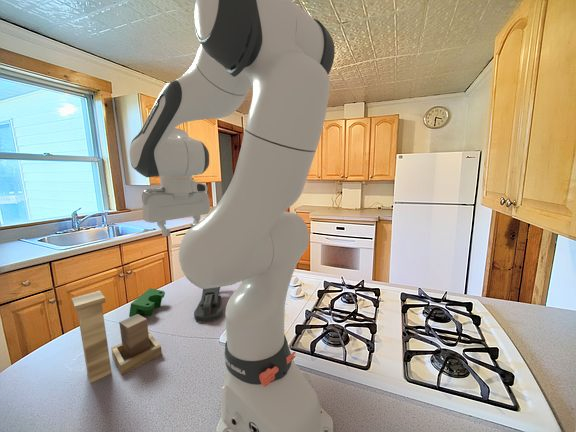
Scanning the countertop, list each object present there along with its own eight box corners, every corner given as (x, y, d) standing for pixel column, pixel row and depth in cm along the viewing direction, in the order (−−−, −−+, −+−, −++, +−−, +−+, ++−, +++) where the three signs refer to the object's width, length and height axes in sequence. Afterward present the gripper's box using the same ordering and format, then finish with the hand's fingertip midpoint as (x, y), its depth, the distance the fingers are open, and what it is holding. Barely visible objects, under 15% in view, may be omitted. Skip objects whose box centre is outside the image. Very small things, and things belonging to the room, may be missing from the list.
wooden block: (150, 353, 65) (146, 318, 64) (132, 364, 62) (127, 327, 60) (141, 347, 68) (137, 313, 66) (123, 357, 64) (119, 322, 62)
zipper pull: (225, 272, 103) (220, 301, 79) (226, 287, 104) (221, 320, 80) (202, 274, 102) (190, 304, 77) (203, 289, 103) (192, 324, 79)
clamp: (148, 328, 84) (146, 312, 79) (131, 324, 84) (127, 307, 79) (166, 299, 94) (165, 283, 89) (151, 296, 94) (149, 279, 89)
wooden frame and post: (161, 354, 65) (154, 285, 62) (89, 391, 54) (76, 309, 51) (149, 339, 71) (142, 276, 68) (82, 369, 60) (70, 295, 57)
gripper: (147, 188, 64) (152, 241, 66) (211, 185, 80) (214, 227, 83) (135, 188, 67) (140, 238, 69) (199, 185, 84) (202, 225, 86)
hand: (181, 232), depth 76 cm, fingers open, 8 cm apart
